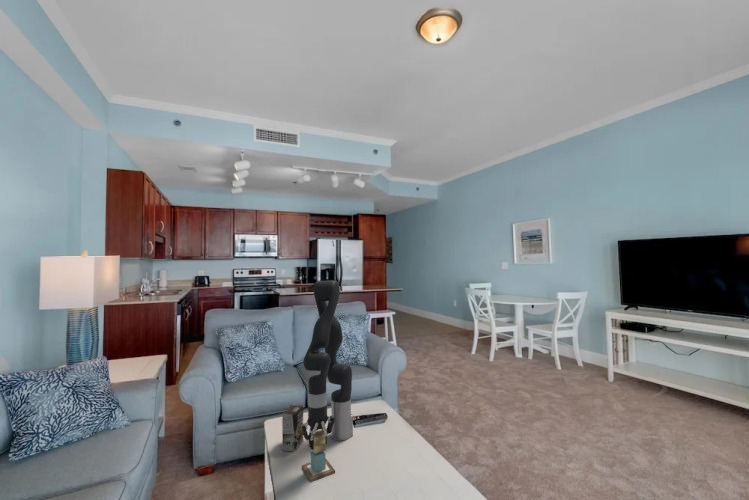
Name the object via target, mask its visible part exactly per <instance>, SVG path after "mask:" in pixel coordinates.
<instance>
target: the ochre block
mask: <svg viewBox="0 0 749 500" xmlns="http://www.w3.org/2000/svg"><path fill="white" fill-rule="evenodd" d="M313 441H314V449H313V450H312V451H313V452H314V453H318V452H321V451H324V452H325V451H326V446H325V433H323V431H322V430H321V429H319V430H317V431H316V433H315V435H314V438H313Z"/></svg>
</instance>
